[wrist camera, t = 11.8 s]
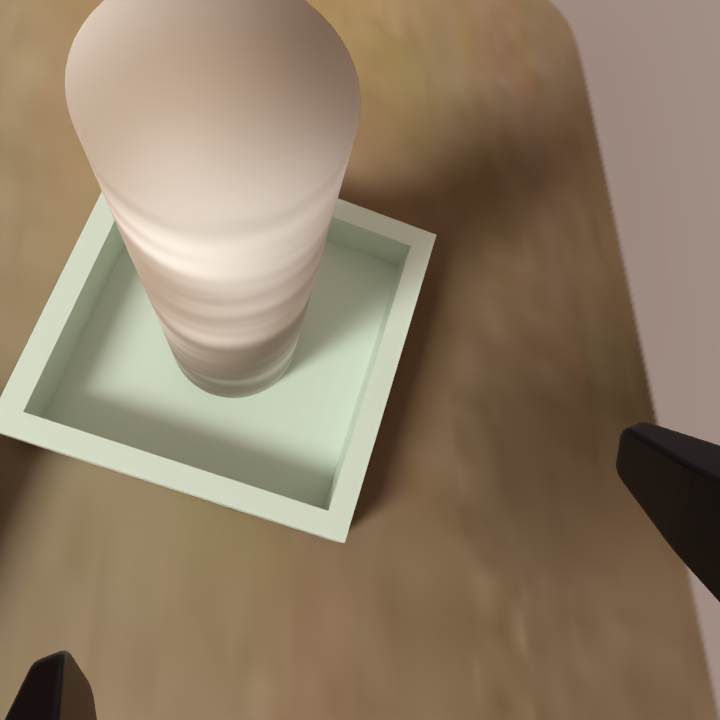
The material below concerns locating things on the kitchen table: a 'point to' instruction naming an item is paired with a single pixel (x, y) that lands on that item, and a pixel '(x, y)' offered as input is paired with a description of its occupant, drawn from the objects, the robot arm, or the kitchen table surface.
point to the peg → (218, 167)
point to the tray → (214, 413)
